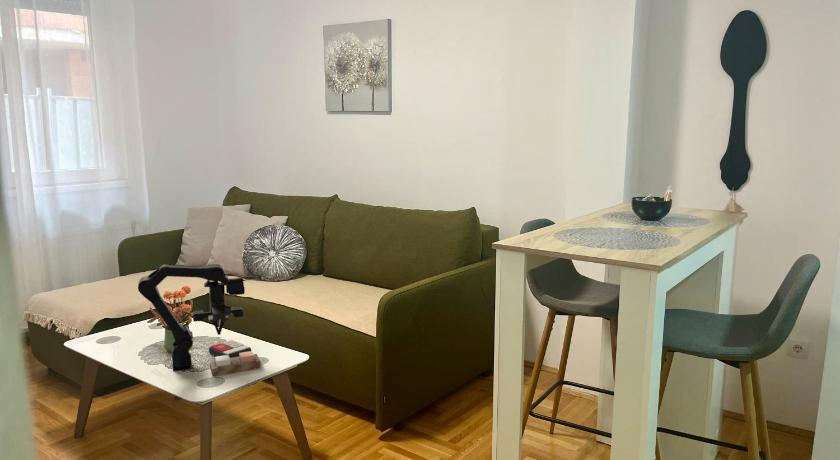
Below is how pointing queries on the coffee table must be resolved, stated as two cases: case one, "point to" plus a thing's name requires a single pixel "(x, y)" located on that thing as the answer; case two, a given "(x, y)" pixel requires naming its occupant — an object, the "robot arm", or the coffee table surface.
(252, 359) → the tan wooden block
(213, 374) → the key panel
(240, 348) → the calculator
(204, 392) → the coffee table surface
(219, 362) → the cream key
